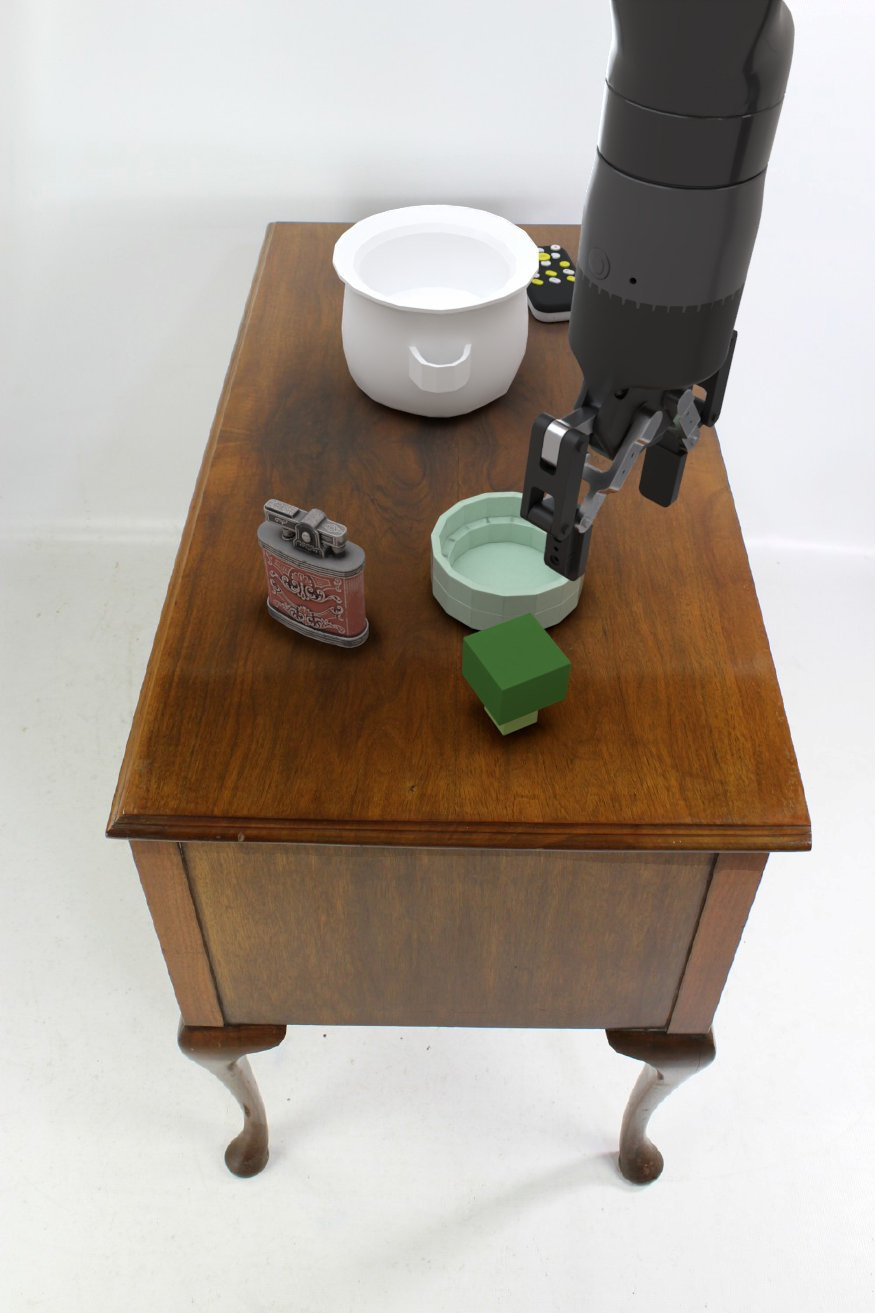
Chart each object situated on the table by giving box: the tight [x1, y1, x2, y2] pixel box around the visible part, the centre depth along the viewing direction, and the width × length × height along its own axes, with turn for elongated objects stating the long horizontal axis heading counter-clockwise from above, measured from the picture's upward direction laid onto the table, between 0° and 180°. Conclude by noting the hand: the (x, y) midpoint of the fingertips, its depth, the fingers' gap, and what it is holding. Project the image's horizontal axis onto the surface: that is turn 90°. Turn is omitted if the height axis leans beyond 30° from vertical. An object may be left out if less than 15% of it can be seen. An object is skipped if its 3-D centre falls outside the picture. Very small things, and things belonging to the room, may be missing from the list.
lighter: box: [256, 498, 370, 649], centre depth 74 cm, size 8×3×10 cm, turn 62°
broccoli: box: [461, 613, 572, 736], centre depth 69 cm, size 5×5×6 cm
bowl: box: [429, 491, 586, 631], centre depth 78 cm, size 11×11×4 cm
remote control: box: [526, 244, 576, 323], centre depth 109 cm, size 6×13×2 cm, turn 11°
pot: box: [332, 204, 539, 418], centre depth 94 cm, size 22×17×12 cm
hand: (612, 533), depth 59 cm, fingers open, 8 cm apart
